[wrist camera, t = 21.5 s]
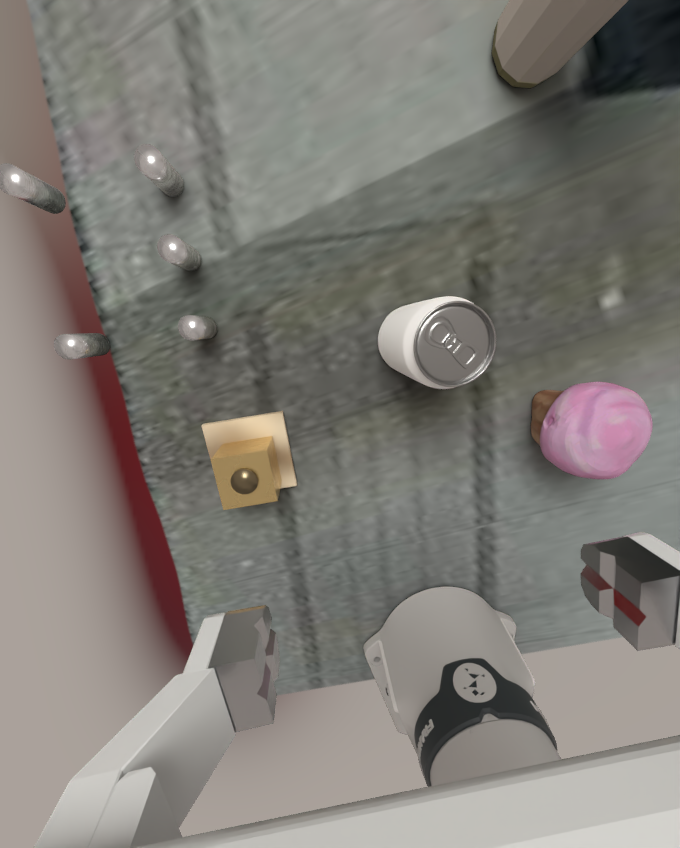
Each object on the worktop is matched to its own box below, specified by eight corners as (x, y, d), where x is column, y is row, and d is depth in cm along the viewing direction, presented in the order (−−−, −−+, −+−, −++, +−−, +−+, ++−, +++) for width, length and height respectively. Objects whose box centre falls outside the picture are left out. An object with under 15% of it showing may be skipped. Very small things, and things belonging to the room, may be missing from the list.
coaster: (297, 483, 39) (296, 485, 38) (222, 496, 39) (220, 498, 38) (282, 410, 37) (282, 412, 36) (203, 423, 36) (201, 425, 36)
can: (405, 290, 35) (451, 271, 23) (455, 332, 36) (522, 335, 24) (363, 346, 36) (387, 355, 24) (413, 385, 37) (459, 411, 25)
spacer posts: (219, 336, 34) (205, 338, 30) (91, 357, 34) (59, 361, 30) (180, 168, 31) (158, 142, 26) (36, 188, 30) (-10, 165, 26)
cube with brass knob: (281, 481, 38) (277, 502, 33) (234, 489, 38) (222, 511, 33) (272, 435, 37) (266, 451, 32) (222, 443, 36) (209, 460, 32)
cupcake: (598, 379, 38) (695, 396, 29) (574, 457, 40) (656, 497, 31) (518, 368, 37) (590, 382, 28) (498, 448, 39) (558, 487, 30)
